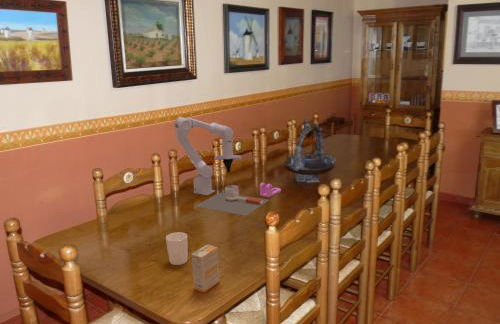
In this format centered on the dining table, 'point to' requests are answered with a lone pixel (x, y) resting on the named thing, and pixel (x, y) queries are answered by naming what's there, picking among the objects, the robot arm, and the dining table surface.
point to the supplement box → (205, 268)
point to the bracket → (268, 190)
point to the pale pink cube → (231, 191)
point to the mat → (229, 205)
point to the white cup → (177, 248)
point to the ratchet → (245, 200)
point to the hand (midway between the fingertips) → (228, 172)
